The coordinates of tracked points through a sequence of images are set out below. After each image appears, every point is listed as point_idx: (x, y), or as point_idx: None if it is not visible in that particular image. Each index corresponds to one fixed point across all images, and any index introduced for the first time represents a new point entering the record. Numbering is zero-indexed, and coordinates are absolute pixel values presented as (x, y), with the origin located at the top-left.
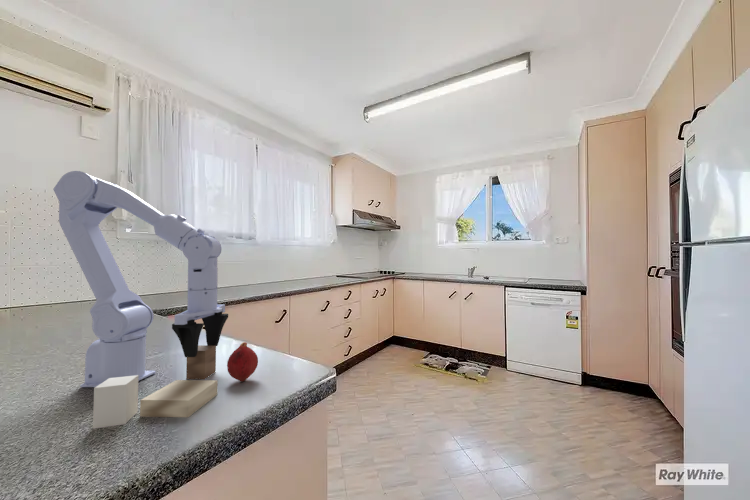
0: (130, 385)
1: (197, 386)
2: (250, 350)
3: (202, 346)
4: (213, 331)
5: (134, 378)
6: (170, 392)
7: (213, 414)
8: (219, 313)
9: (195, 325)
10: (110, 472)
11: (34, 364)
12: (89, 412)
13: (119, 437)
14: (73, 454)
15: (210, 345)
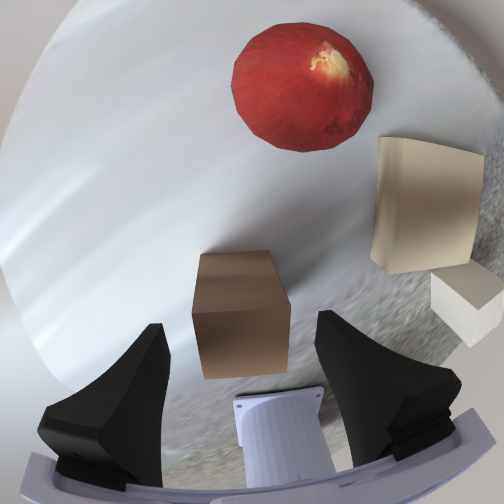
0: (493, 288)
1: (436, 177)
2: (323, 31)
3: (218, 359)
4: (148, 392)
5: (489, 300)
6: (454, 227)
7: (452, 104)
8: (85, 470)
9: (460, 385)
10: None
11: None
12: (412, 345)
13: (487, 227)
14: (498, 251)
15: (197, 337)
